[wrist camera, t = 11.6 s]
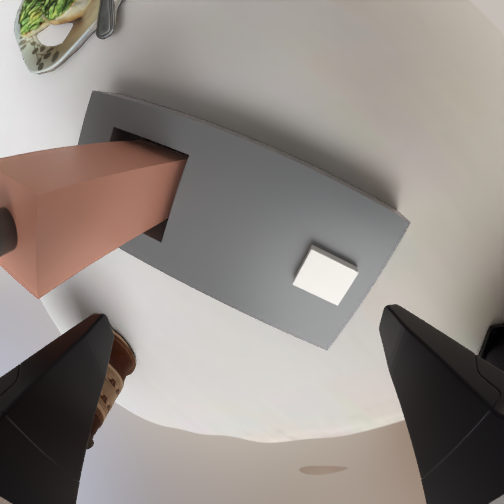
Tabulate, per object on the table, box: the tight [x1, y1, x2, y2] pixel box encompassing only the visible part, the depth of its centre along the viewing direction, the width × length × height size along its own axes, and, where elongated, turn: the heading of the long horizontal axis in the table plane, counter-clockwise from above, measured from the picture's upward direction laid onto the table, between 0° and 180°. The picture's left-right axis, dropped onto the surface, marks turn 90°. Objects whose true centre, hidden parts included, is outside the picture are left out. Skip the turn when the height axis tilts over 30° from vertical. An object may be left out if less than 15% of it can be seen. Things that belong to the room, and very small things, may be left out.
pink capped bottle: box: [0, 140, 188, 299], centre depth 14 cm, size 4×4×14 cm
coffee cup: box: [86, 329, 136, 449], centre depth 22 cm, size 9×8×13 cm
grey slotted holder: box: [78, 91, 410, 350], centre depth 18 cm, size 22×10×4 cm, turn 67°
